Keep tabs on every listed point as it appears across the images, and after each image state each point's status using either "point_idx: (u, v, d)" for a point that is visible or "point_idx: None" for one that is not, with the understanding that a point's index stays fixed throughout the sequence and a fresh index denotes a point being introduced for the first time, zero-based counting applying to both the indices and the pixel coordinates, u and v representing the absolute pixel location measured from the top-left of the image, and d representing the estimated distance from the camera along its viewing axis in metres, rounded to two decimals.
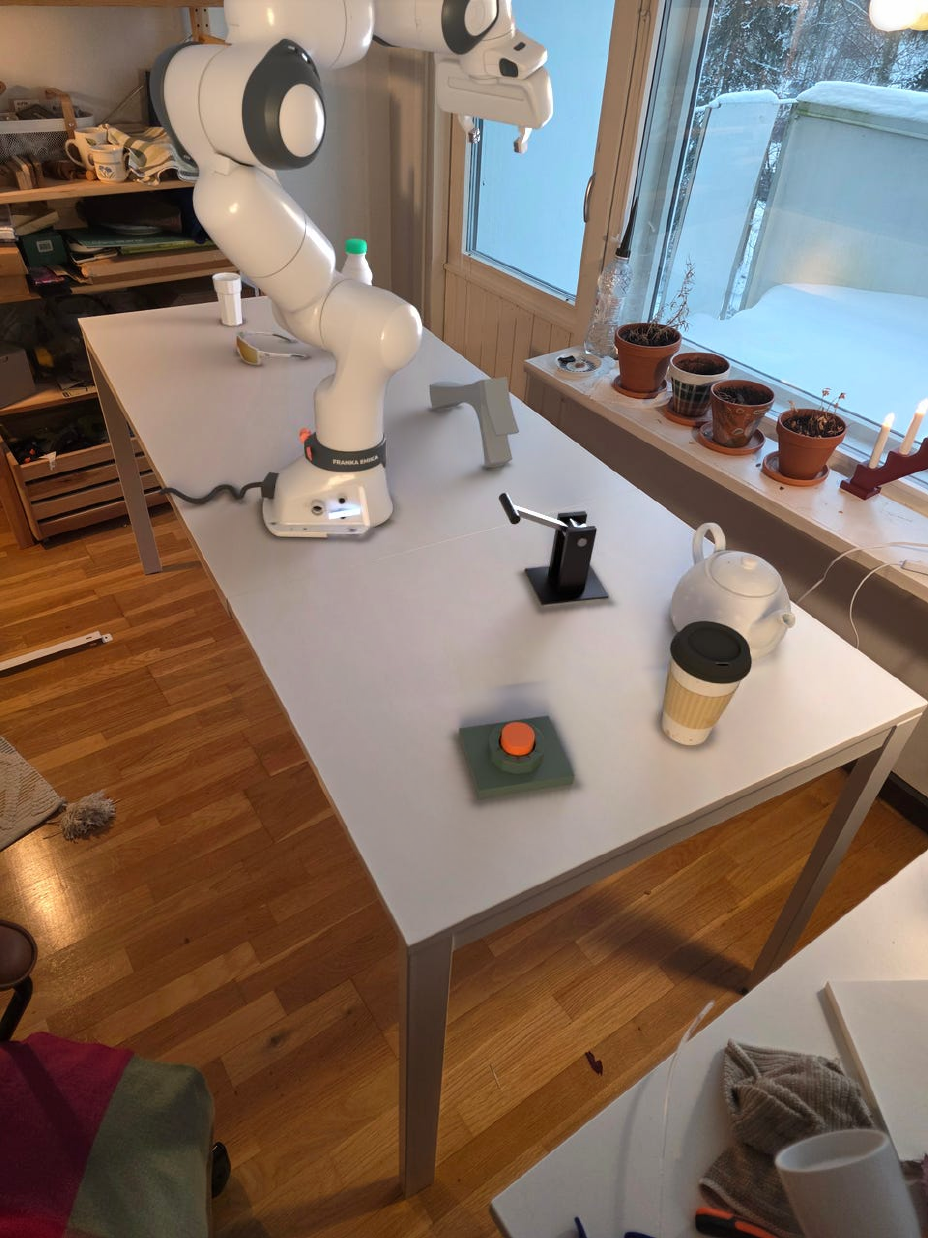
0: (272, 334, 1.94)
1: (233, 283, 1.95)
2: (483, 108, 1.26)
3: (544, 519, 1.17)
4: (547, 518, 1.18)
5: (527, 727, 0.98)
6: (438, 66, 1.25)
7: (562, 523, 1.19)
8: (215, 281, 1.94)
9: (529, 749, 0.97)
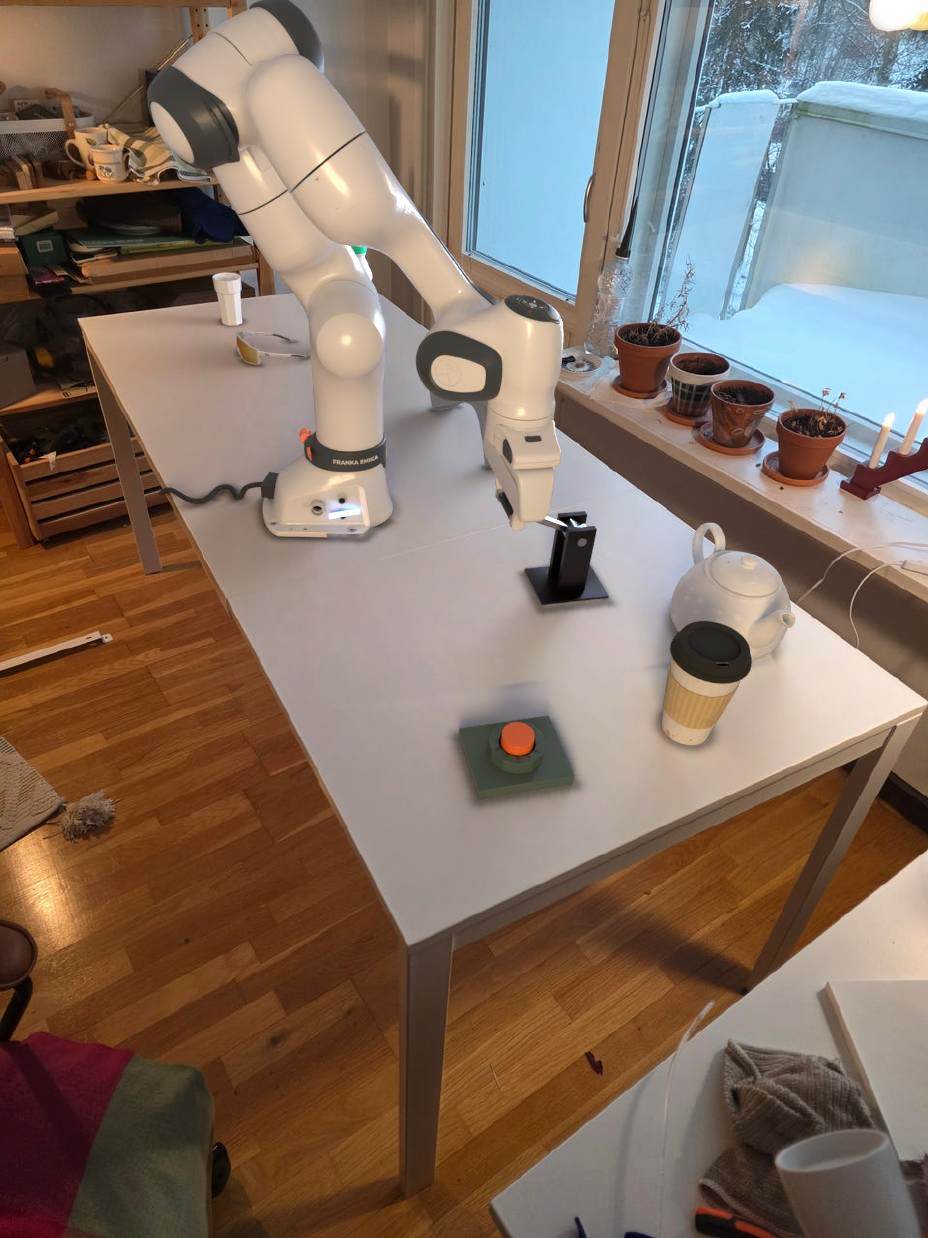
0: (272, 334, 1.94)
1: (233, 283, 1.95)
2: (499, 473, 1.11)
3: (544, 519, 1.17)
4: (547, 518, 1.18)
5: (527, 727, 0.98)
6: None
7: (562, 523, 1.19)
8: (215, 281, 1.94)
9: (529, 749, 0.97)
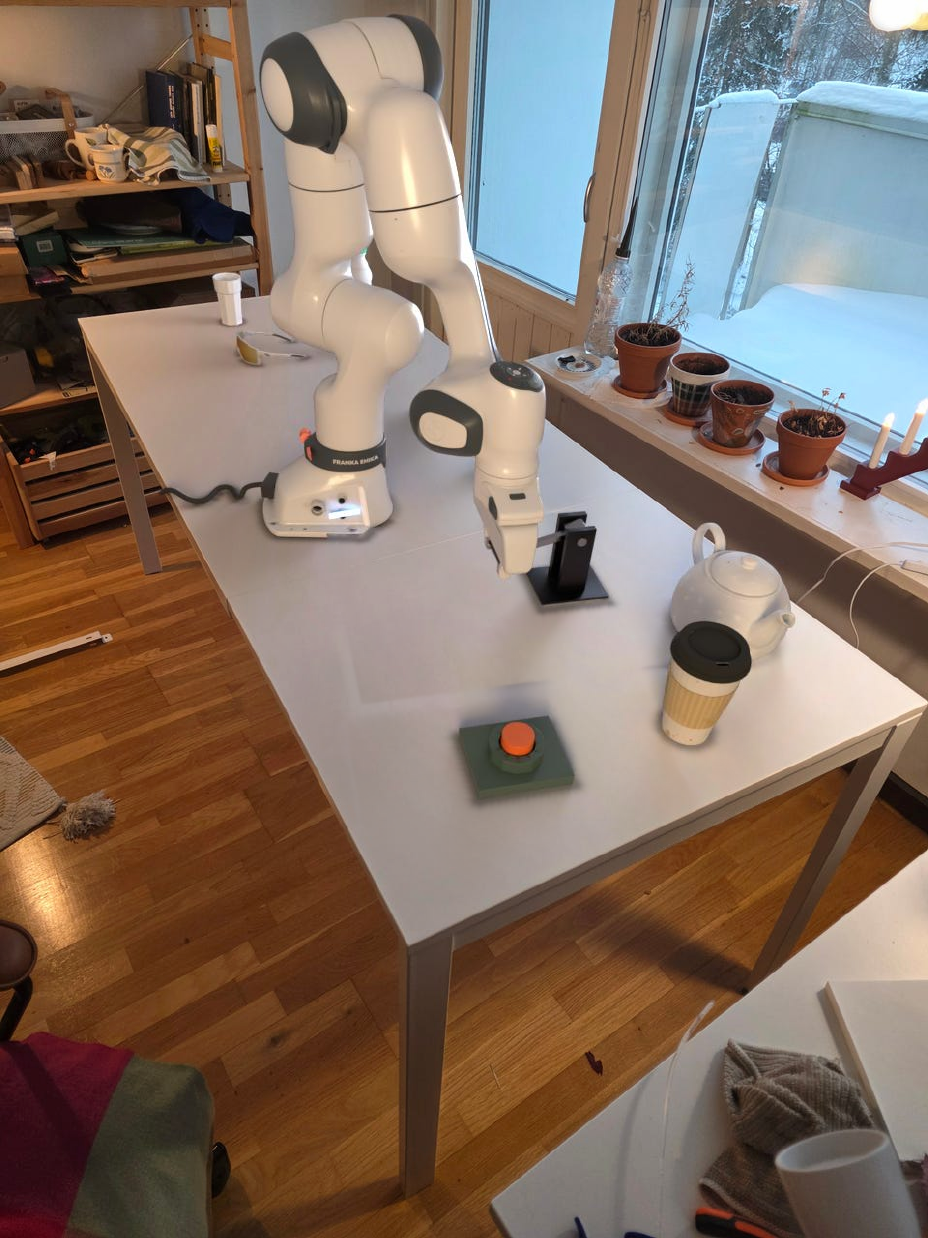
0: (272, 334, 1.94)
1: (233, 283, 1.95)
2: (487, 524, 1.16)
3: None
4: (540, 539, 1.20)
5: (527, 727, 0.98)
6: None
7: (557, 533, 1.20)
8: (215, 281, 1.94)
9: (529, 749, 0.97)
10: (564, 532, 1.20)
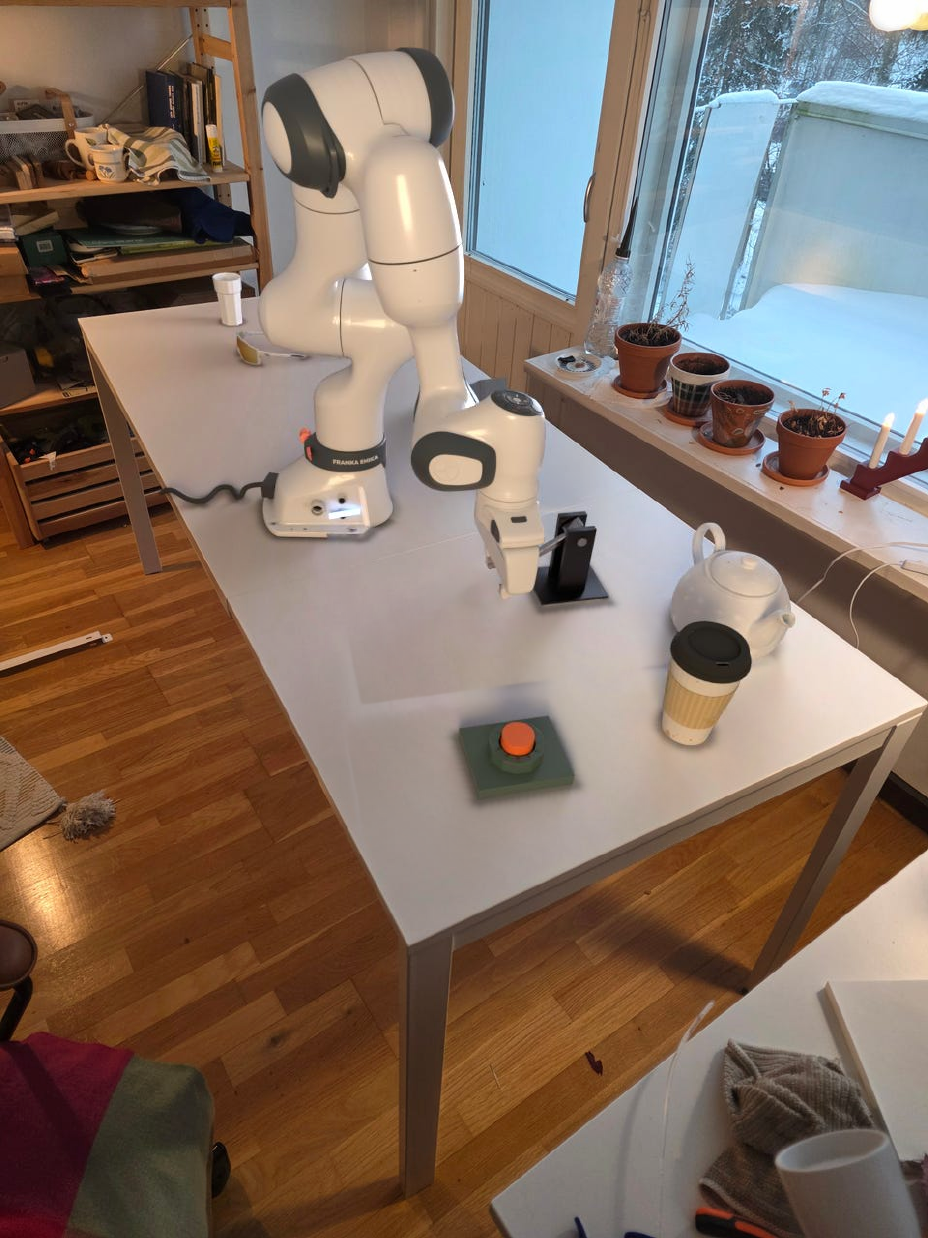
0: None
1: (233, 283, 1.95)
2: (489, 545, 1.19)
3: (539, 552, 1.21)
4: (541, 548, 1.21)
5: (527, 727, 0.98)
6: None
7: (558, 538, 1.21)
8: (215, 281, 1.94)
9: (529, 749, 0.97)
10: (564, 535, 1.20)
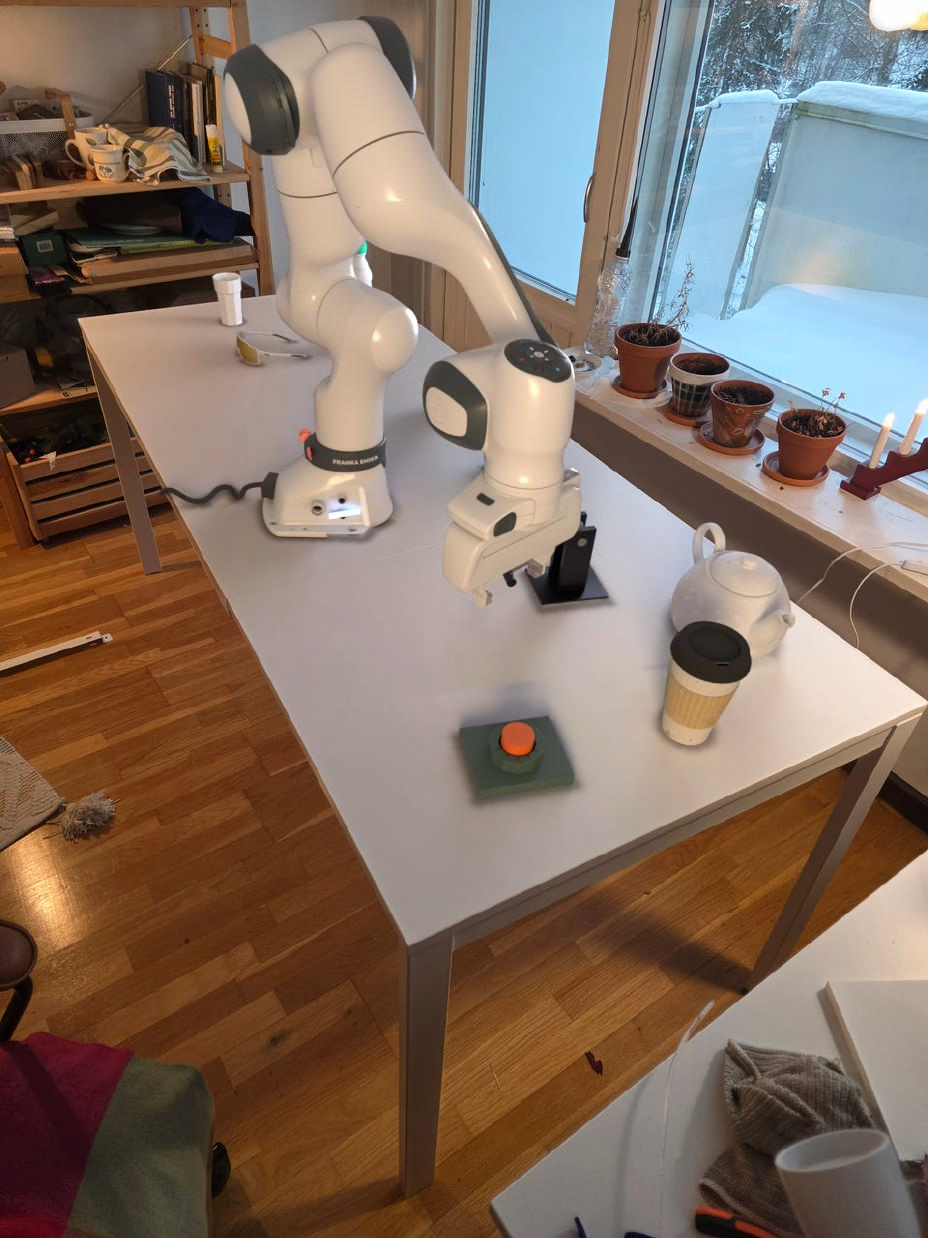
0: (272, 334, 1.94)
1: (233, 283, 1.95)
2: None
3: None
4: None
5: (527, 727, 0.98)
6: None
7: None
8: (215, 281, 1.94)
9: (529, 749, 0.97)
10: None
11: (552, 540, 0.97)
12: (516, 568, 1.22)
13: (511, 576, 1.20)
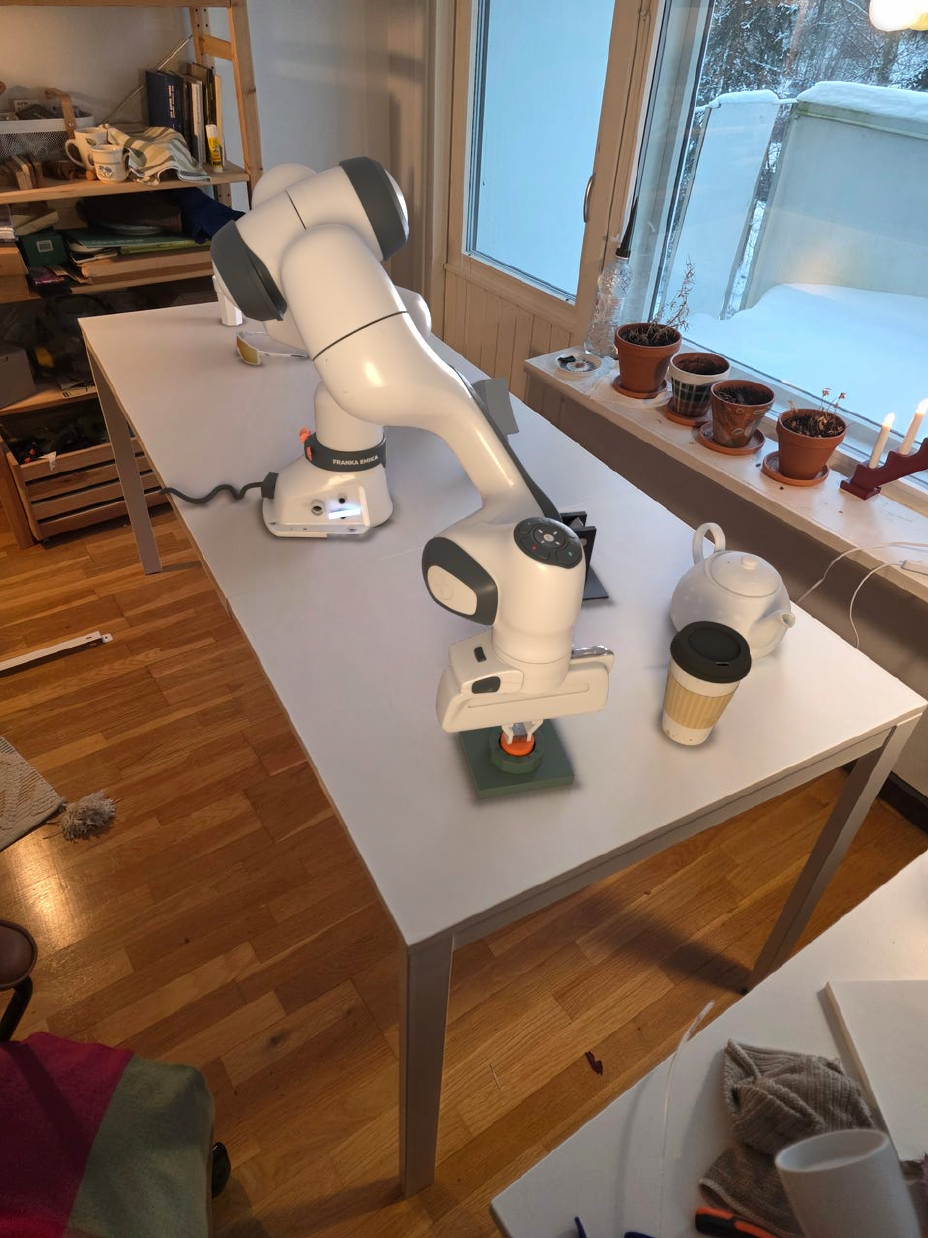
0: None
1: None
2: None
3: None
4: None
5: None
6: None
7: None
8: (215, 281, 1.94)
9: (528, 752, 0.97)
10: None
11: (565, 709, 0.93)
12: None
13: None
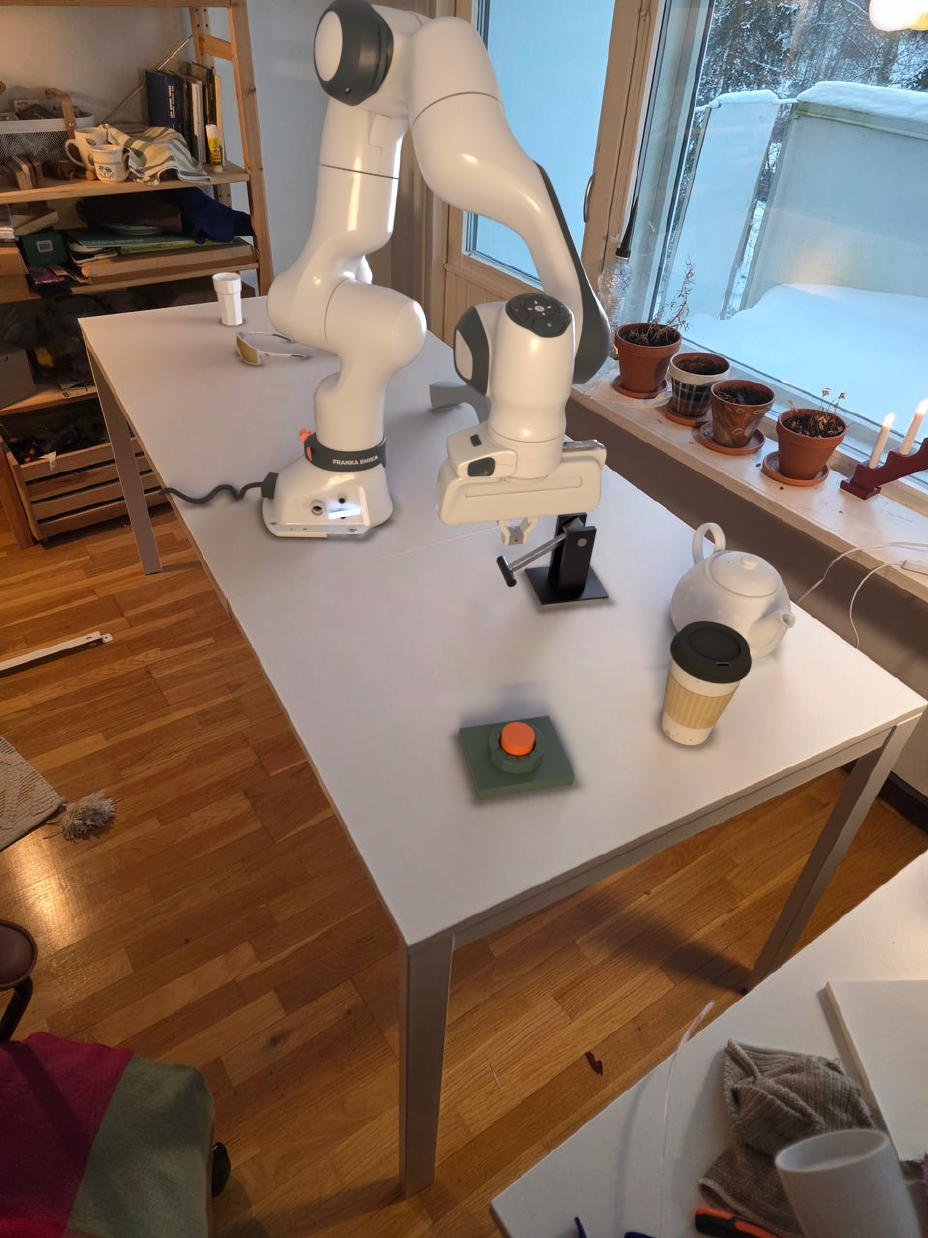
0: (272, 334, 1.94)
1: (233, 283, 1.95)
2: None
3: (539, 552, 1.21)
4: (541, 548, 1.21)
5: (527, 727, 0.98)
6: None
7: (558, 538, 1.21)
8: (215, 281, 1.94)
9: (529, 749, 0.97)
10: (564, 535, 1.20)
11: (559, 506, 0.97)
12: (516, 568, 1.22)
13: (511, 576, 1.20)
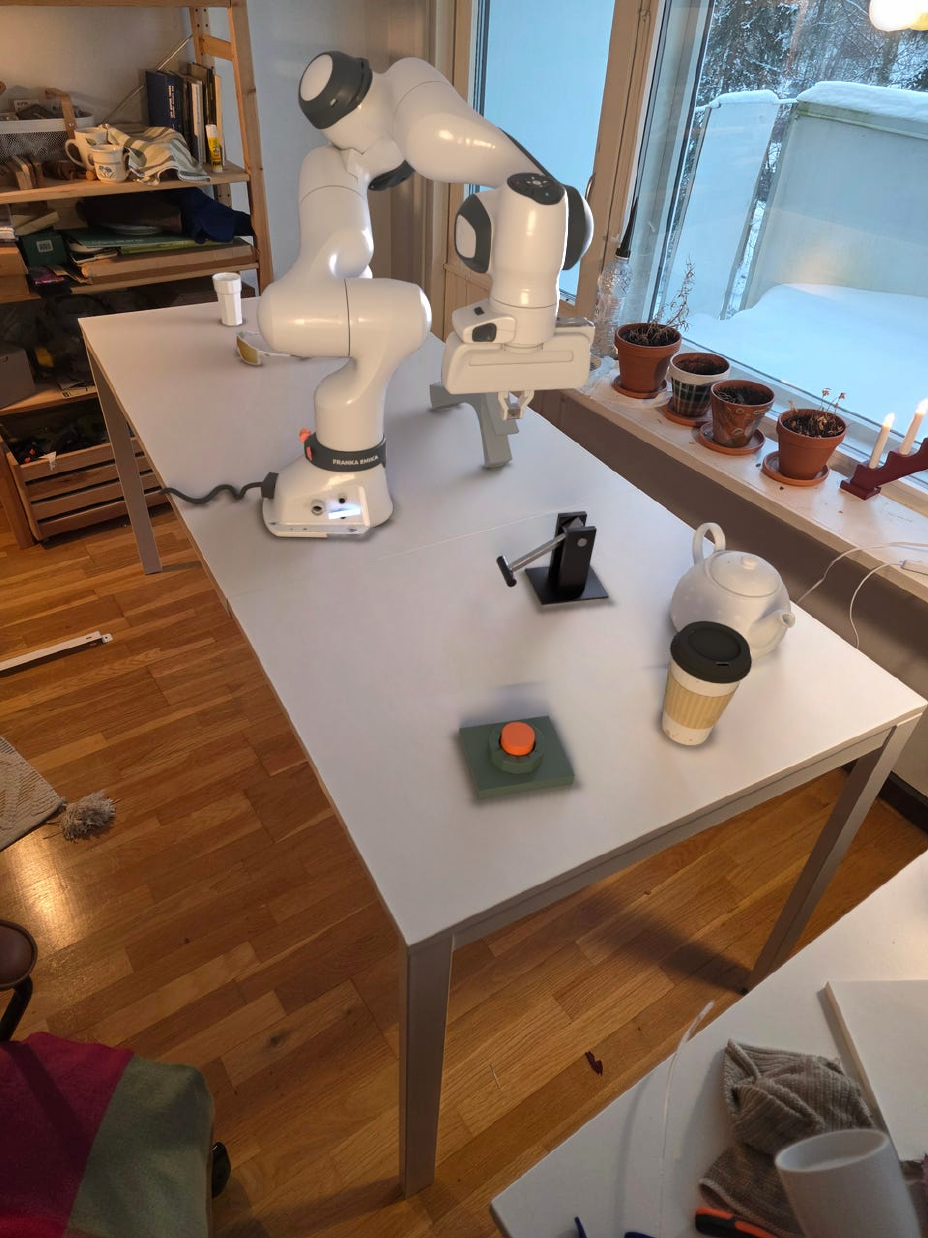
0: None
1: (233, 283, 1.95)
2: None
3: (539, 552, 1.21)
4: (541, 548, 1.21)
5: (527, 727, 0.98)
6: None
7: (558, 538, 1.21)
8: (215, 281, 1.94)
9: (529, 749, 0.97)
10: (564, 535, 1.20)
11: (553, 380, 1.08)
12: (516, 568, 1.22)
13: (511, 576, 1.20)
